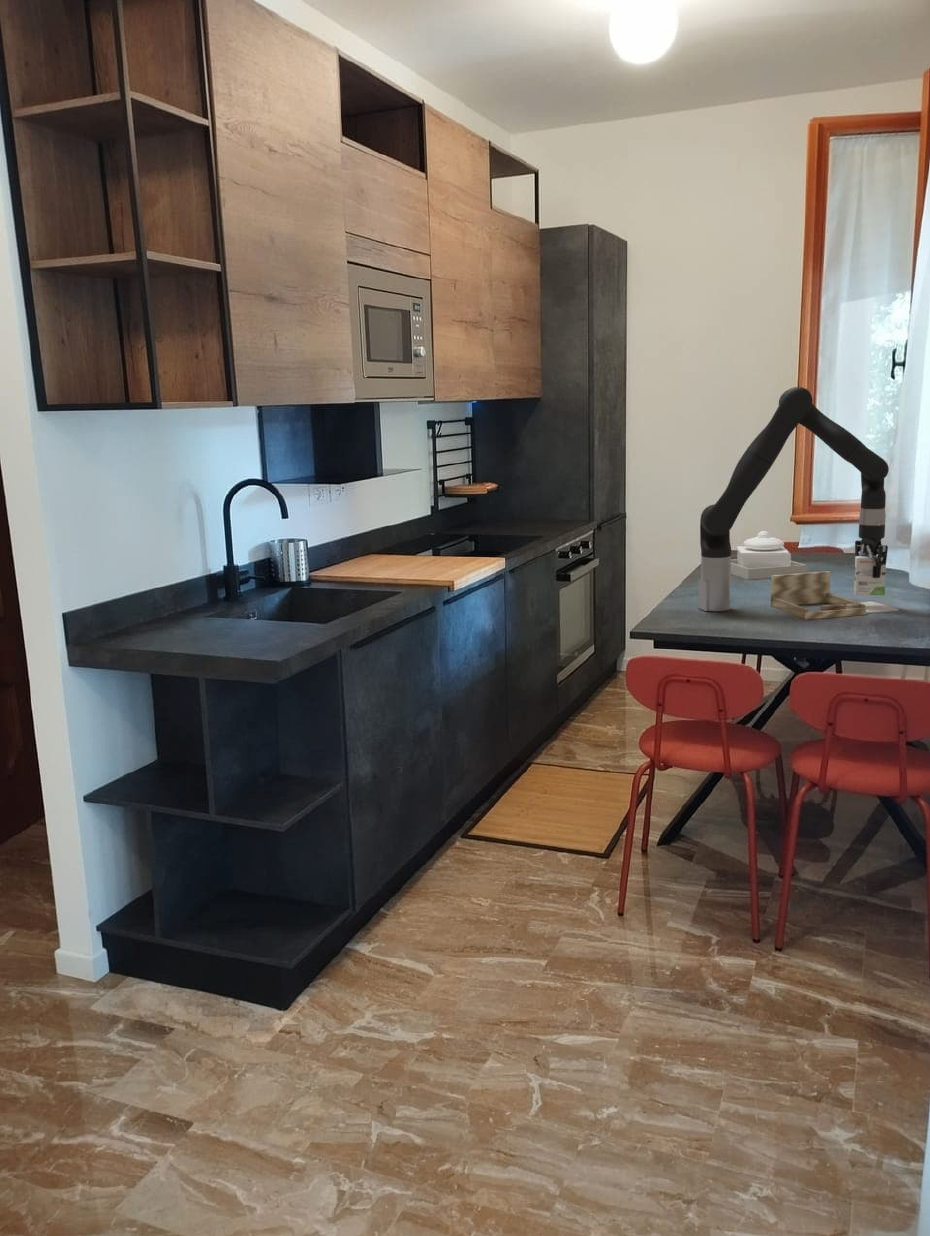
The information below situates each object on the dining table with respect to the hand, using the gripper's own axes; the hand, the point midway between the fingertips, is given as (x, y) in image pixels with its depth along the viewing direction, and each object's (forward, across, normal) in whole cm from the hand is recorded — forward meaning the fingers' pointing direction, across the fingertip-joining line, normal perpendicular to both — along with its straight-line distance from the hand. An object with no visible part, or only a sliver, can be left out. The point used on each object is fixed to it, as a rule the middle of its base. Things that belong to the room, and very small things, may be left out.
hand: (869, 575), depth 313 cm
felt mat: (+10, 0, 0) cm, 10 cm away
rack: (+10, -3, -16) cm, 19 cm away
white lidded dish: (+10, -71, +1) cm, 72 cm away
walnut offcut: (+9, +6, -16) cm, 19 cm away
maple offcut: (+10, +6, -9) cm, 15 cm away
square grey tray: (+10, -71, +1) cm, 72 cm away
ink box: (+6, 0, 0) cm, 6 cm away
